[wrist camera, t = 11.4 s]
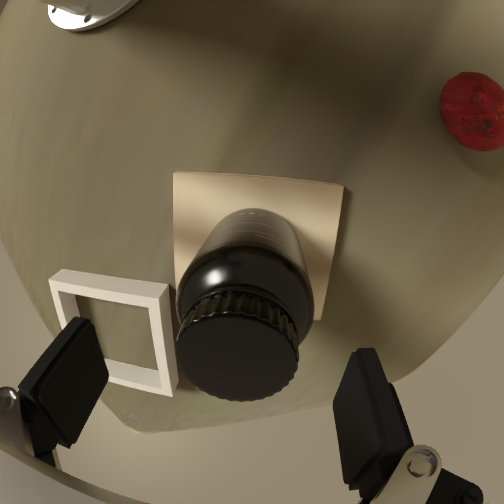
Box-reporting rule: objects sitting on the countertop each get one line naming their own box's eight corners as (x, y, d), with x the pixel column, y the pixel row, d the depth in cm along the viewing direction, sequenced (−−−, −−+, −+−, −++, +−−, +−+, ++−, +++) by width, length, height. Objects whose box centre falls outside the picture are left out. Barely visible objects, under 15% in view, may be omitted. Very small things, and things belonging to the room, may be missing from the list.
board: (177, 171, 21) (173, 173, 20) (340, 183, 20) (343, 186, 19) (180, 300, 25) (177, 306, 24) (318, 313, 24) (320, 320, 23)
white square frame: (62, 268, 25) (48, 279, 23) (168, 284, 24) (158, 298, 22) (86, 358, 29) (77, 371, 27) (178, 380, 29) (172, 396, 26)
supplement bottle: (299, 292, 22) (314, 418, 11) (212, 291, 23) (167, 410, 12) (302, 204, 20) (335, 286, 9) (205, 205, 21) (129, 283, 9)
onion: (444, 159, 19) (508, 174, 11) (409, 95, 17) (469, 82, 10) (484, 129, 17) (548, 136, 10) (454, 69, 16) (514, 54, 8)
